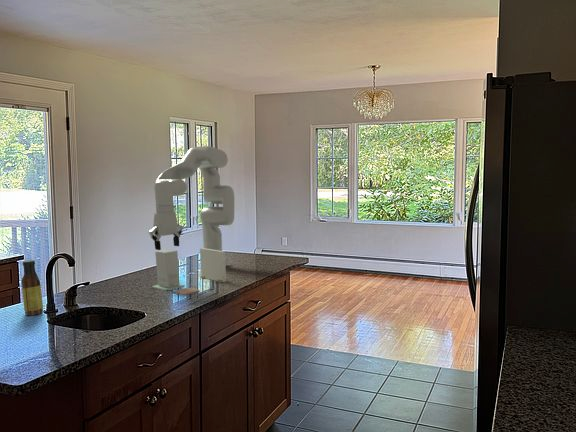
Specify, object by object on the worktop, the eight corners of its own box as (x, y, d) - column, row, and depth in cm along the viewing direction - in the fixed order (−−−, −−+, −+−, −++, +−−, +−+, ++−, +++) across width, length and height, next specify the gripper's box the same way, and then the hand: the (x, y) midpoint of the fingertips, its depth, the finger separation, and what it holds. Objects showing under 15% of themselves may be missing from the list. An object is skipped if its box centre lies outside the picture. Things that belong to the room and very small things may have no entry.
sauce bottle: (47, 311, 198) (43, 259, 196) (35, 316, 192) (31, 262, 190) (31, 310, 199) (28, 259, 197) (20, 315, 193) (16, 262, 191)
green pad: (171, 283, 241) (170, 281, 241) (184, 286, 234) (184, 285, 234) (152, 287, 233) (152, 286, 233) (165, 290, 227) (165, 289, 226)
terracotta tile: (187, 288, 229) (187, 287, 229) (199, 291, 224) (199, 290, 224) (172, 292, 223) (172, 291, 223) (183, 295, 218) (183, 294, 218)
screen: (205, 276, 253) (204, 247, 251) (228, 281, 242) (227, 251, 241) (199, 278, 250) (197, 248, 248) (221, 282, 239) (220, 252, 238)
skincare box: (180, 285, 233) (178, 250, 231) (167, 288, 228) (165, 252, 227) (169, 282, 239) (167, 248, 237) (156, 285, 234) (154, 250, 232)
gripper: (176, 206, 239) (178, 243, 241) (142, 210, 226) (145, 250, 229) (186, 207, 234) (188, 245, 236) (152, 212, 221) (155, 252, 224)
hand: (167, 247), depth 232 cm, fingers open, 9 cm apart
